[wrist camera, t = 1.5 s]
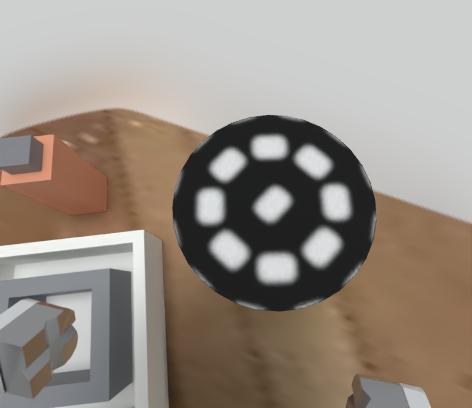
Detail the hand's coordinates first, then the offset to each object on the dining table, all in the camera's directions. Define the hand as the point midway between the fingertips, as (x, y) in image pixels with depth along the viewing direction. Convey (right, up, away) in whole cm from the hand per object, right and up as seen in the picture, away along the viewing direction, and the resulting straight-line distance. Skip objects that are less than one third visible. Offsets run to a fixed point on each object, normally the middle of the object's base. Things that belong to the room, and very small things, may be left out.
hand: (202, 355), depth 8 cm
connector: (-16, +5, +25) cm, 30 cm away
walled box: (-14, -8, +22) cm, 27 cm away
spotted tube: (+3, -1, +23) cm, 24 cm away
